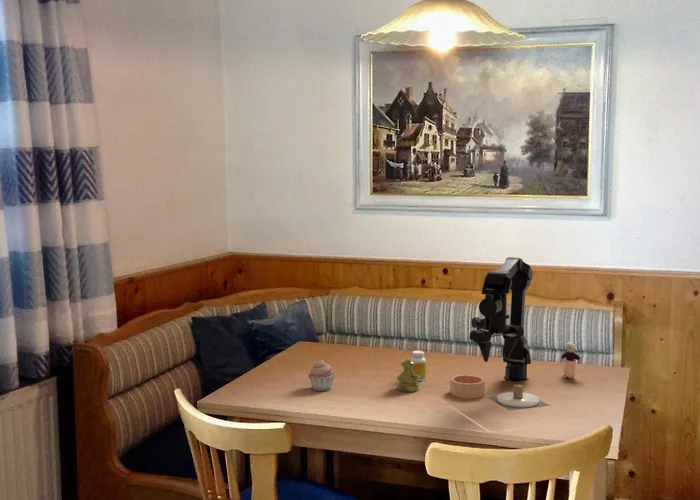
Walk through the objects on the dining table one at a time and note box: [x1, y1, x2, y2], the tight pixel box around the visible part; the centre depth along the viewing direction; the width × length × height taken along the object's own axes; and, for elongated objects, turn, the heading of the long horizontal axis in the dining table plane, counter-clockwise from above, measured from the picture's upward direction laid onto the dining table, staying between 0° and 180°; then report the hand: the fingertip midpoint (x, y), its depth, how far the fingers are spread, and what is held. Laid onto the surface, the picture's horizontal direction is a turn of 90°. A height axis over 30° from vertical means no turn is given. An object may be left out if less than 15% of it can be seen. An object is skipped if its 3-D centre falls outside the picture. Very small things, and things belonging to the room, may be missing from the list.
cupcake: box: [307, 359, 336, 392], centre depth 262 cm, size 9×9×10 cm
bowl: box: [449, 374, 486, 399], centre depth 255 cm, size 11×11×5 cm
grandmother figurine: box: [559, 341, 583, 380], centre depth 273 cm, size 8×4×13 cm, turn 68°
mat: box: [487, 395, 550, 411], centre depth 246 cm, size 14×14×1 cm
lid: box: [496, 383, 540, 408], centre depth 246 cm, size 13×13×5 cm
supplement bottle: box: [410, 350, 427, 382], centre depth 273 cm, size 5×5×10 cm
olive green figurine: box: [396, 359, 420, 393], centre depth 261 cm, size 7×7×10 cm
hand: (496, 359), depth 249 cm, fingers open, 9 cm apart
